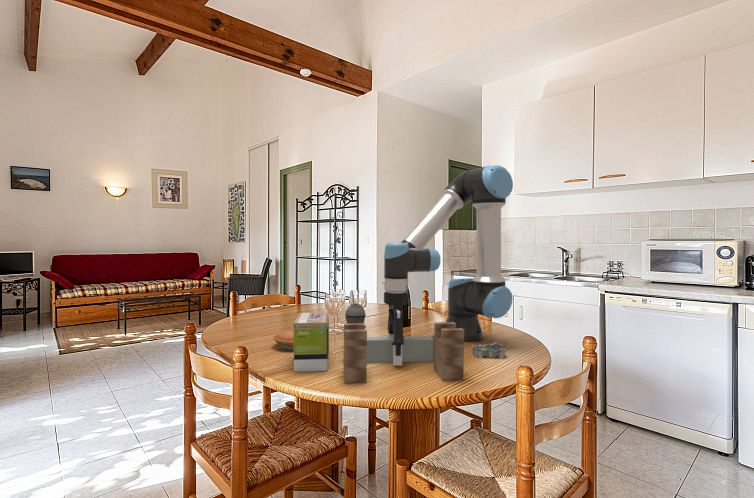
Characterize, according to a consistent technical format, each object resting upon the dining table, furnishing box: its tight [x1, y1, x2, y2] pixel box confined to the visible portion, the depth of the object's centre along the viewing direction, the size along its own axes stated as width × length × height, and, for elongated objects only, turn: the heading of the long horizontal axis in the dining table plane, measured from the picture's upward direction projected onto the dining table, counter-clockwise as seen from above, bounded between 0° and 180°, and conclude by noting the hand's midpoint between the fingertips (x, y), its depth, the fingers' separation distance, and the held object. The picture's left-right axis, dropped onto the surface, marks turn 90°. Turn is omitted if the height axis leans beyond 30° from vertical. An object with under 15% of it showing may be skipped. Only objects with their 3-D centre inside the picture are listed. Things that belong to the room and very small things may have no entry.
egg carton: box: [471, 341, 507, 358], centre depth 139 cm, size 11×8×4 cm
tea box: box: [292, 311, 330, 373], centre depth 127 cm, size 15×10×15 cm, turn 5°
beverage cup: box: [344, 290, 366, 323], centre depth 145 cm, size 7×7×20 cm
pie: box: [272, 329, 294, 352], centre depth 147 cm, size 15×16×5 cm
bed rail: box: [367, 335, 434, 364], centre depth 132 cm, size 32×4×7 cm, turn 96°
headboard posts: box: [343, 321, 465, 384], centre depth 118 cm, size 33×10×14 cm, turn 96°
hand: (394, 359), depth 132 cm, fingers open, 11 cm apart
